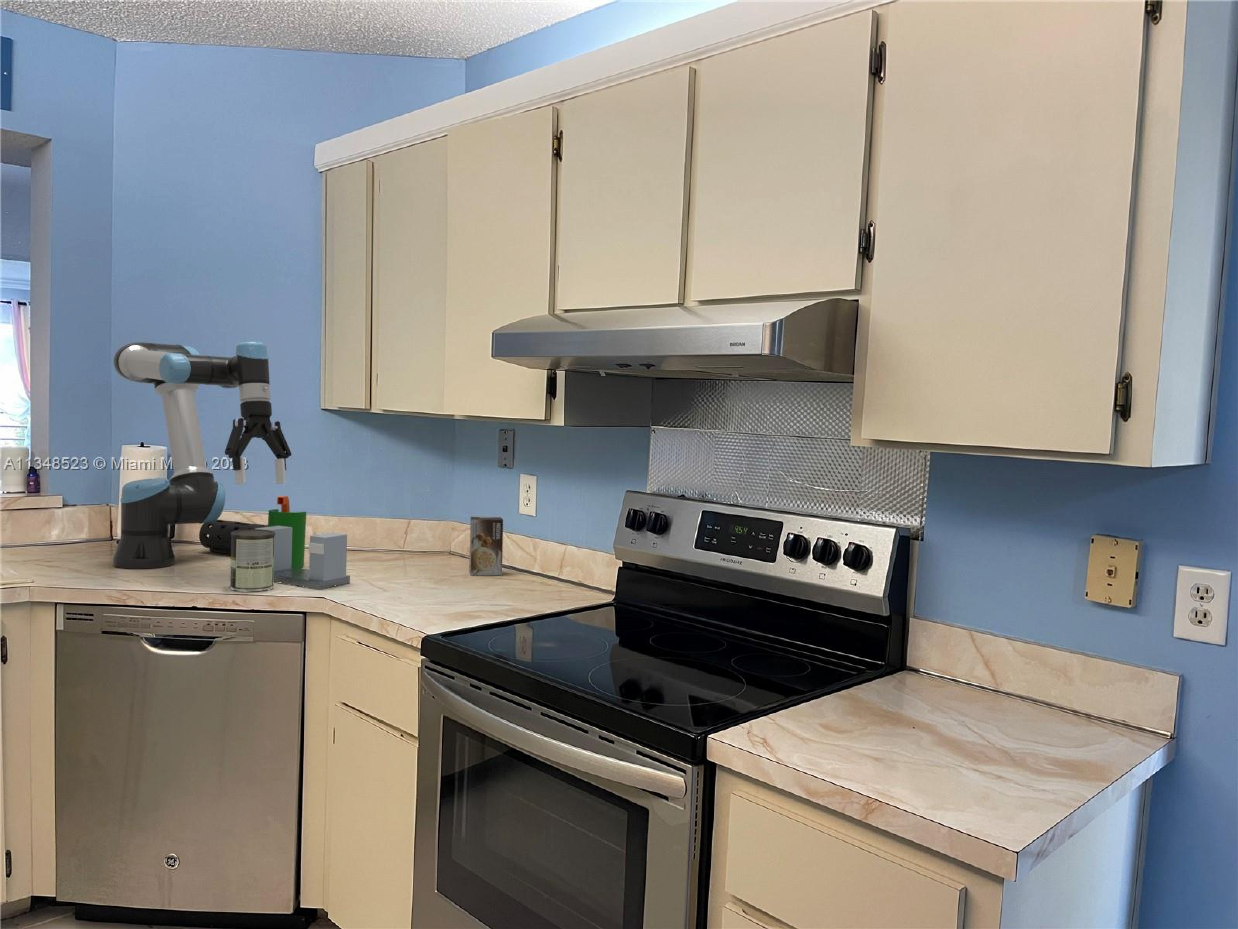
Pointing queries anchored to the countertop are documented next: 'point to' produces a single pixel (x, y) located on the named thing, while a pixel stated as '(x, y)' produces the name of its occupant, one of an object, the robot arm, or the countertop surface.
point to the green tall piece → (298, 528)
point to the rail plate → (306, 578)
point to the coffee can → (252, 560)
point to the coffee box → (486, 546)
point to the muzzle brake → (222, 534)
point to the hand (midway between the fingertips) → (261, 483)
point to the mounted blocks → (312, 553)
